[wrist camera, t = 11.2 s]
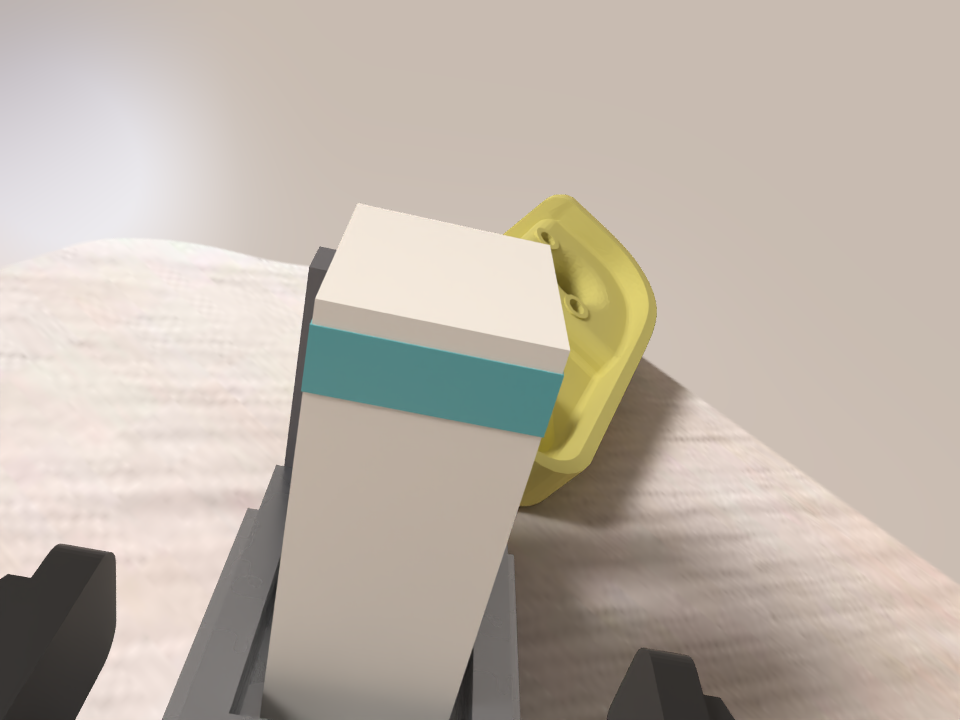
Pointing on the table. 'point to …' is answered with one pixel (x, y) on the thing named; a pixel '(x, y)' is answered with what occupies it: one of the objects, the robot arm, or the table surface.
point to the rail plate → (248, 621)
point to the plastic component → (587, 335)
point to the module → (408, 463)
